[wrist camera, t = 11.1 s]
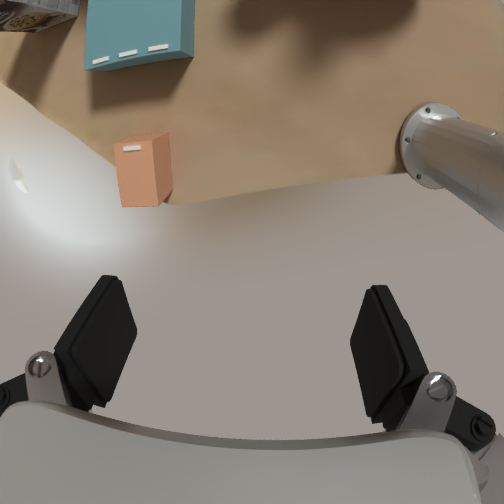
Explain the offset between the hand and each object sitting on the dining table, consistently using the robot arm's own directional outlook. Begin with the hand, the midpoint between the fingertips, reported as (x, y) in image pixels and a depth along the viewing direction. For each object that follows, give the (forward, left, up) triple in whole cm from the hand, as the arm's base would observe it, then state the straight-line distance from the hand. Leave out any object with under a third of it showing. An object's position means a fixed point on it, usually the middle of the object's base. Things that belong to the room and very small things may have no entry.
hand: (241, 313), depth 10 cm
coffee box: (+30, -27, -28) cm, 49 cm away
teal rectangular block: (+14, -21, -28) cm, 38 cm away
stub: (+14, +1, -28) cm, 32 cm away
